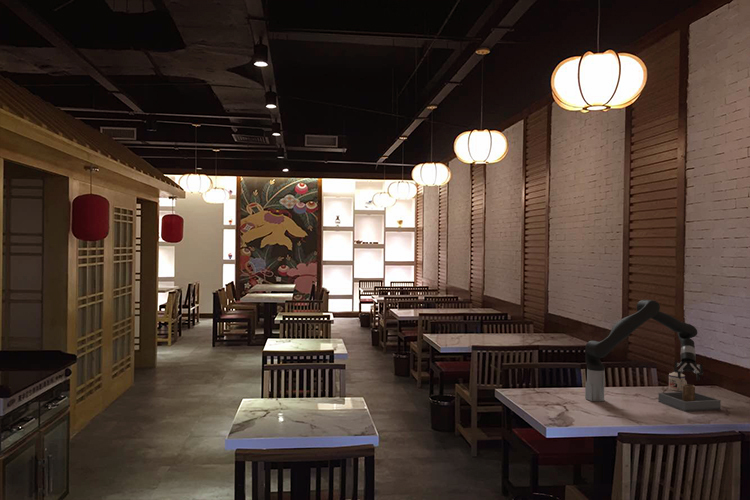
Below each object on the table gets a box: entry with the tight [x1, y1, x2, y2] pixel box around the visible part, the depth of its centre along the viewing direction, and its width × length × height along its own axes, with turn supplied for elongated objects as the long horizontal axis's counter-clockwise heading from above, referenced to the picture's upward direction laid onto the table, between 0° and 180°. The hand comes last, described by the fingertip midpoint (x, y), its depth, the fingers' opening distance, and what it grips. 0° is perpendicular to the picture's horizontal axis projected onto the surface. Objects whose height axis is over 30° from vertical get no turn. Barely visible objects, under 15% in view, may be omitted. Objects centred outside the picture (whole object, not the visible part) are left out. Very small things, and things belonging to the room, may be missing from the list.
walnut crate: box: [682, 383, 696, 402], centre depth 309 cm, size 6×6×10 cm
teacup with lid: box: [668, 371, 688, 392], centre depth 344 cm, size 12×9×12 cm
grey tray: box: [658, 391, 722, 413], centre depth 309 cm, size 22×20×5 cm
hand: (688, 379), depth 314 cm, fingers open, 8 cm apart
